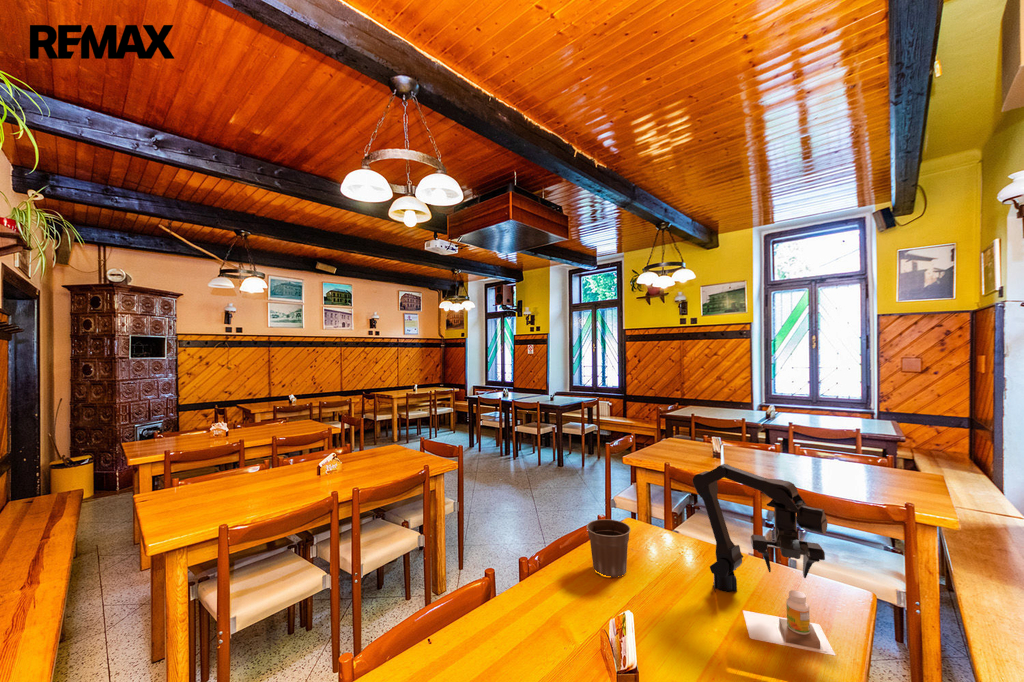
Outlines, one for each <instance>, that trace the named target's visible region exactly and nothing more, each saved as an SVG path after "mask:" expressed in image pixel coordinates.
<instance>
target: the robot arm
mask: <svg viewBox="0 0 1024 682" xmlns="http://www.w3.org/2000/svg"><path fill="white" fill-rule="evenodd" d="M722 479H727V480H730V481H732V482H736V483H737V484H741V485H744V486H746V487H749V488H751V489H754V490H757V491H758V492H759V491H760V492H761V493H763V494H765V496H767V498H769V499H771V500H770V501H769V502H767V503H766V506H767V507H770V508H774V511H773V513H774V540H769V539H766V536H765V535H759V534H752V535H750V544H751V548H752V549H753V550H754V551H756V552H757V553H758V554H762V556H763V559H764V561H765V564H766V567H767V570H768V572H769V573H772V572H771V562H770V561H771V560H770V557H769V556H770V554H769V551H768V548H771V549H778V550H779V549H780V554H781V556H782V557H783V558H792V559H795V560H800V559H801V556H803V557H802V575H803V576H802V577H803V578H804V579H806V578H807V577H808V574H809V572H810V570H811V567H812V566H813V565H814V563H817V562H818V563H819V562H820V561H826V553H825V550H824V549H823V547H822V546H821V545H820V544H819V543H816V542H810V541H809V542H808V541H804V540H799V538H798V529H797V524H798V527H800V528H801V529H803V530H805V531H810V532H813V533H817V534H822V535H826V533H827V531H828V519H827V515H826V514H825V509H822V508H817V507H811V506H807V503H806V501H805V500H804V499H803V497H802V496H801V495H800V493H799V491H798V489H797V487H796V485H795V484H794V483H793V482H790V481H789V480H785V479H784V480H783V479H780V478H779V479H777V478H767V477H763V476H761V475H758V474H754V473H752V472H750V471H749V472H748V471H746V470H743V469H740V468H737V467H734V466H731V465H730V464H728V463H723V464H720V465H718V466H716V468H713V469H712V470H705V471H702V472H700V473H697V474H695V475H694V476H693V478H692V484H693V487H694V489H695V490H696V493H697V494H698V495H699V497H700V498H701V499H702V501H703V504H704V507H705V511H706V513H707V516H708V520H709V524H710V526H711V529H712V533H713V536H714V539H715V559H716V561H715V562H714V563H712V564H711V565H710V566H709V570H710V572H711V574H713V583H712V584H714V585H713V589H714V593H716V590H719V591H720V592H724V593H732V592H734V593H735V592H736V593H737V592H738V581H737V580H738V579H737V576H736V575H735V572H734V571H736V570H737V569H738V568H739V567H740V566H741V565H742V564H743V558H744V556H743V554H742V552H741V546H740V545H739V544H735V543H734V542H733V541H732V540H731V537H730V534H729V530H728V527H727V524H726V521H725V518H724V514H723V512H722V511H723V510H722V508H721V505H720V502H719V499H718V493H719V492H718V491H719V485H718V481H720V480H722Z"/></svg>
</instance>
